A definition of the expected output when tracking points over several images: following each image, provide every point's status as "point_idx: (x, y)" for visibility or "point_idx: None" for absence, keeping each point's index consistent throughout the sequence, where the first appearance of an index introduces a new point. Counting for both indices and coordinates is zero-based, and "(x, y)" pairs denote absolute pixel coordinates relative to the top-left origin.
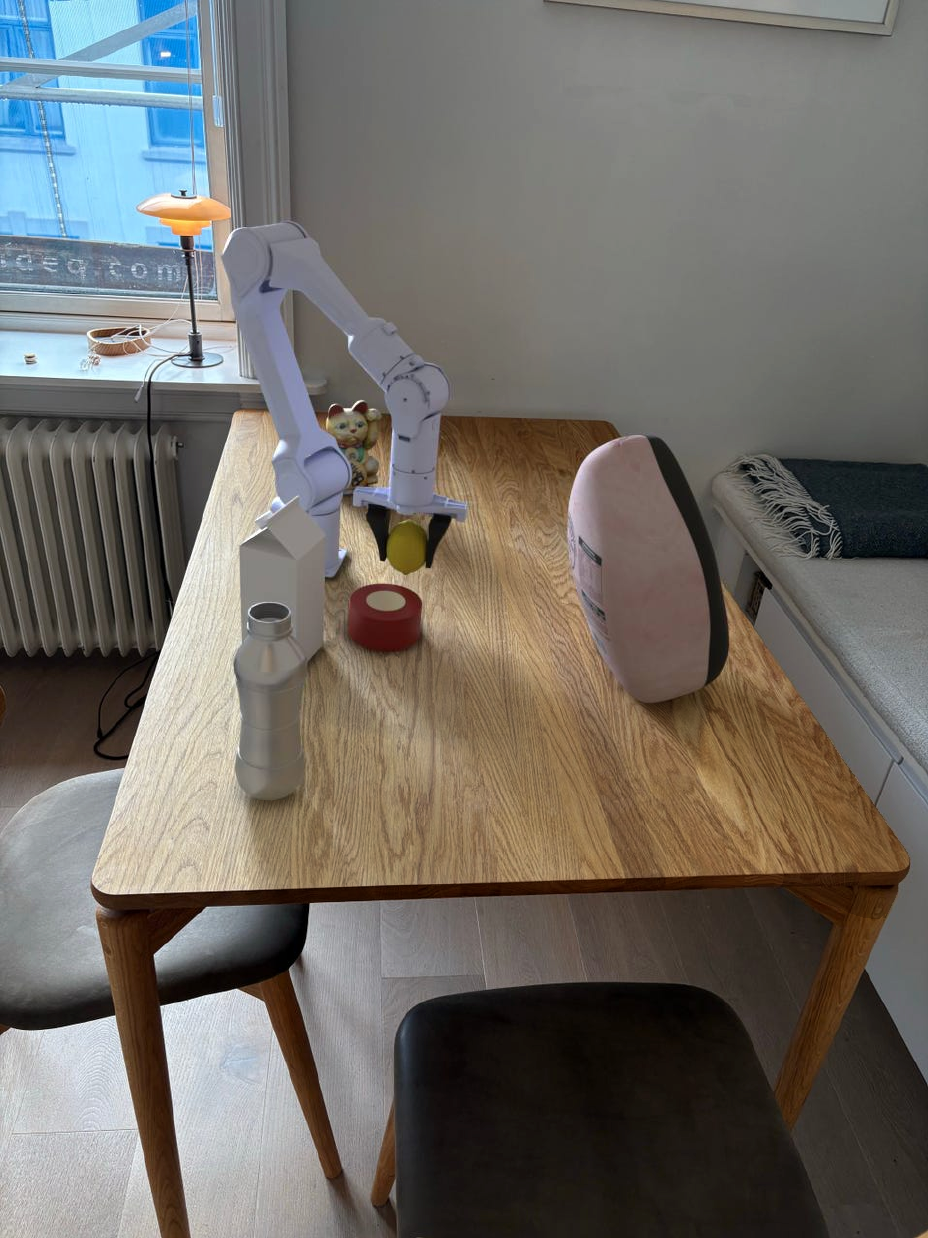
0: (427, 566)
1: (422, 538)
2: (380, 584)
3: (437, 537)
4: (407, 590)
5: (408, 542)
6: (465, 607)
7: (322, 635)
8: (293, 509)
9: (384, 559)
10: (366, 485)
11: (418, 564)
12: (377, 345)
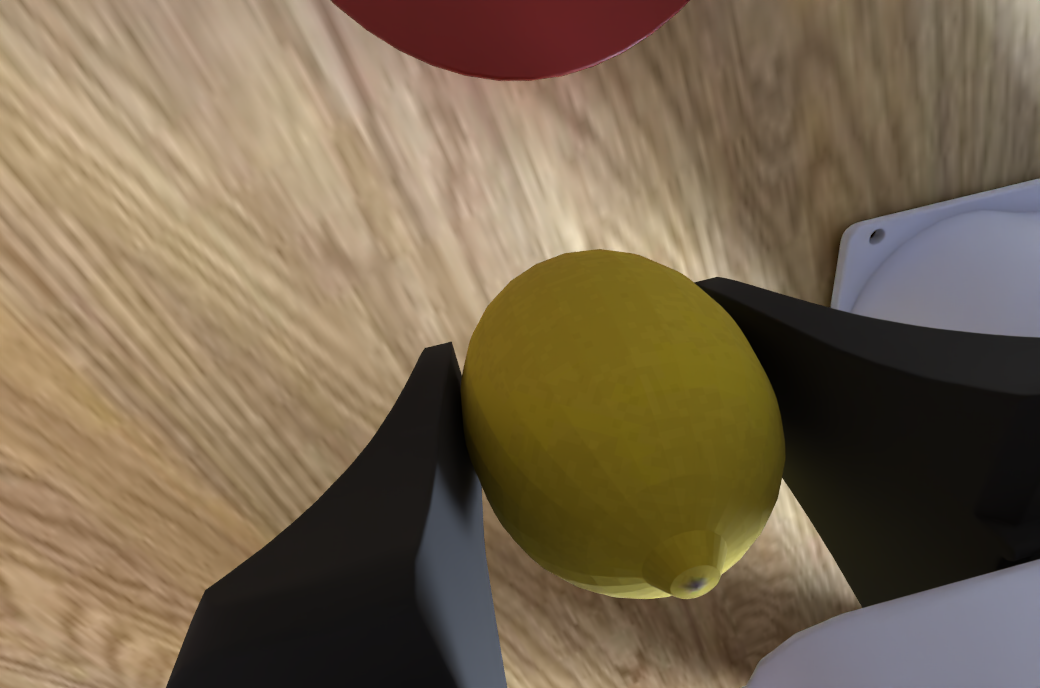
0: (437, 349)
1: (508, 469)
2: (643, 17)
3: (334, 511)
4: (438, 34)
5: (600, 365)
6: (254, 309)
7: None
8: None
9: (701, 283)
10: None
11: (483, 317)
12: None
